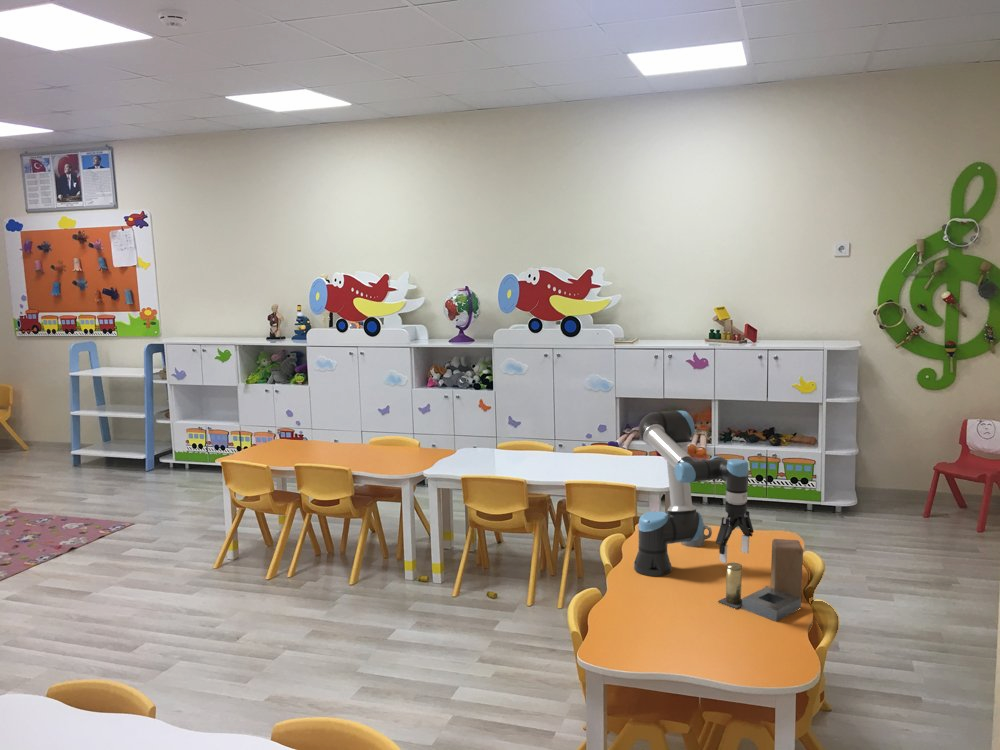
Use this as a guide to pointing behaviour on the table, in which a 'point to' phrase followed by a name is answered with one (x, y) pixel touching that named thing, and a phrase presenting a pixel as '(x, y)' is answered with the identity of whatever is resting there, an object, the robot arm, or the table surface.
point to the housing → (771, 603)
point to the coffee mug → (700, 540)
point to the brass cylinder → (733, 583)
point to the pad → (730, 604)
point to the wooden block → (787, 566)
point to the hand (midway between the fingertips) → (734, 557)
